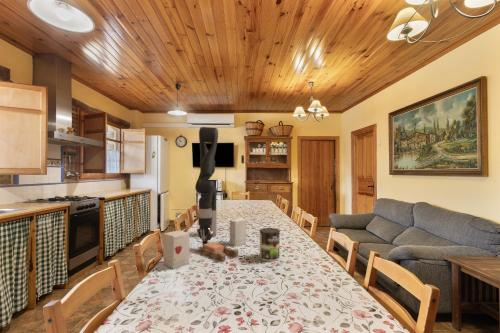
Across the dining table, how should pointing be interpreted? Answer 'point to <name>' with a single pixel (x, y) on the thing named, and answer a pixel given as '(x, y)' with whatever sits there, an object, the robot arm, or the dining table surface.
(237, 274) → the dining table surface
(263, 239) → the coffee can
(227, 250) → the walnut chute
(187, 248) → the supplement box
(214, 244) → the terracotta block
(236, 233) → the skincare box
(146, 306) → the dining table surface
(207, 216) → the robot arm
